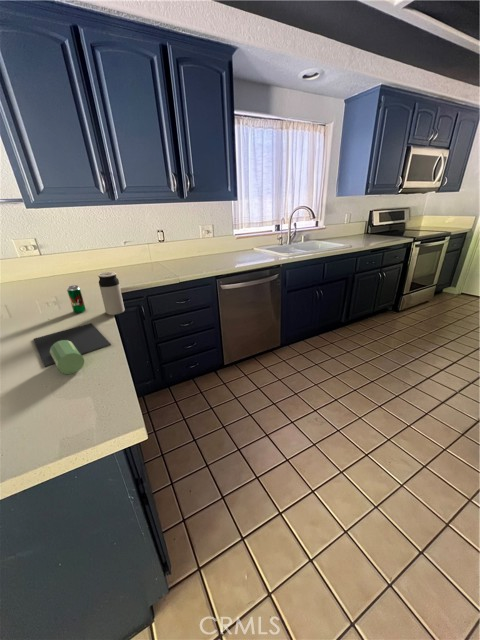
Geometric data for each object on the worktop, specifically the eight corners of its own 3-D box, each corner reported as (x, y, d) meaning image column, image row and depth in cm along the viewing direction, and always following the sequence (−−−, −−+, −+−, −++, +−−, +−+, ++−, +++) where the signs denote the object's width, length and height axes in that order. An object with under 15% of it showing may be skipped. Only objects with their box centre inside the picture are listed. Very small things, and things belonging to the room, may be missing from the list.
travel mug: (107, 316, 117) (97, 277, 110) (105, 310, 123) (95, 273, 116) (126, 312, 121) (118, 274, 113) (123, 307, 127) (115, 270, 119)
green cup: (61, 377, 77) (53, 362, 84) (86, 368, 82) (77, 354, 88) (54, 358, 74) (46, 344, 81) (81, 349, 79) (71, 337, 85)
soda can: (87, 309, 125) (81, 284, 120) (83, 313, 121) (76, 288, 116) (76, 309, 125) (69, 285, 120) (71, 314, 120) (64, 288, 115)
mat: (33, 339, 99) (33, 338, 98) (91, 323, 111) (91, 322, 111) (45, 367, 82) (44, 366, 82) (111, 344, 95) (111, 343, 94)
